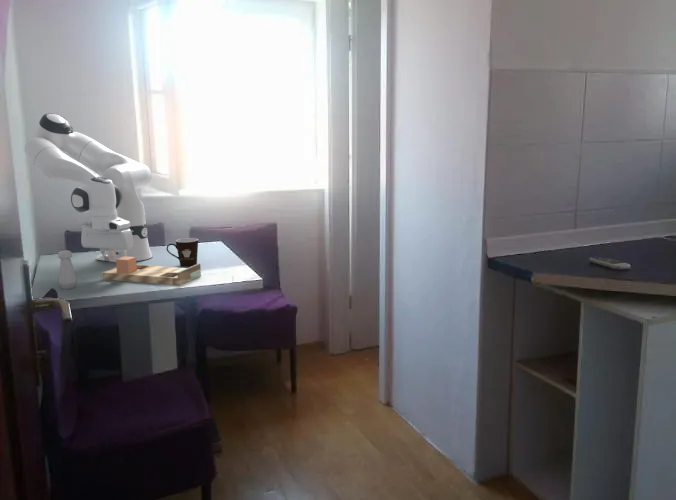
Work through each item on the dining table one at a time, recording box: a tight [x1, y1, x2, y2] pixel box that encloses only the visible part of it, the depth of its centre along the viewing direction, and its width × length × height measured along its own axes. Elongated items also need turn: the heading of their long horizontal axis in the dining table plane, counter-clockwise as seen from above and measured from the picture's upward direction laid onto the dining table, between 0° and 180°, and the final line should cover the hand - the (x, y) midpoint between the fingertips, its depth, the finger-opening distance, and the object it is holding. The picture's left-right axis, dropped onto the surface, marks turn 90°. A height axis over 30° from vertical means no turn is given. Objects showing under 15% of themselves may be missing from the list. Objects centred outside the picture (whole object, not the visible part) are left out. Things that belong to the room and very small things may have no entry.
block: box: [115, 256, 138, 274], centre depth 229 cm, size 5×5×5 cm
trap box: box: [101, 263, 202, 286], centre depth 231 cm, size 32×14×4 cm, turn 72°
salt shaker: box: [57, 249, 78, 290], centre depth 217 cm, size 6×6×13 cm
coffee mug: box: [165, 237, 199, 268], centre depth 249 cm, size 12×9×10 cm
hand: (108, 260), depth 231 cm, fingers closed
